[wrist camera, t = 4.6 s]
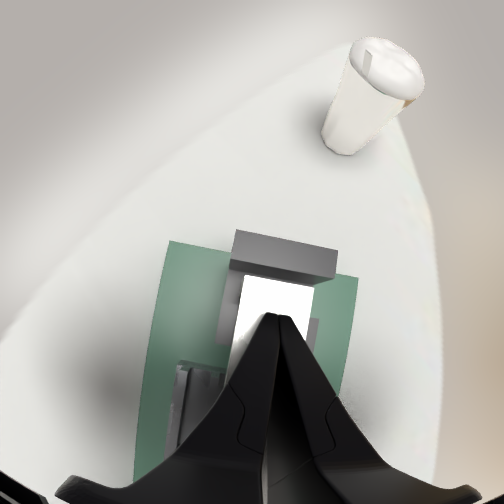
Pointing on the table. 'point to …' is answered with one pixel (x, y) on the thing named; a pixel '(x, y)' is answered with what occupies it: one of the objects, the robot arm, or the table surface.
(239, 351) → the metal bar
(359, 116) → the milkshake
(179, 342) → the board
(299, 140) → the table surface
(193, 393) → the heatsink
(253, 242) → the lug block
